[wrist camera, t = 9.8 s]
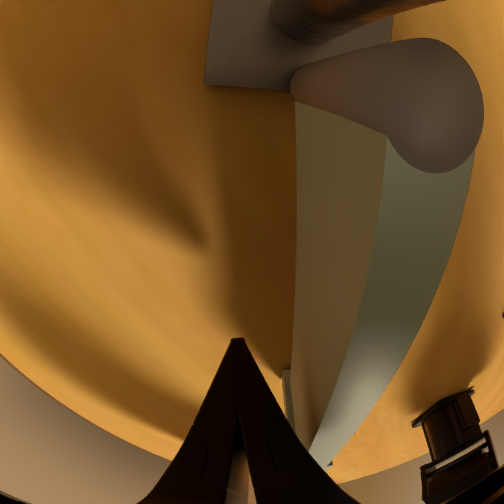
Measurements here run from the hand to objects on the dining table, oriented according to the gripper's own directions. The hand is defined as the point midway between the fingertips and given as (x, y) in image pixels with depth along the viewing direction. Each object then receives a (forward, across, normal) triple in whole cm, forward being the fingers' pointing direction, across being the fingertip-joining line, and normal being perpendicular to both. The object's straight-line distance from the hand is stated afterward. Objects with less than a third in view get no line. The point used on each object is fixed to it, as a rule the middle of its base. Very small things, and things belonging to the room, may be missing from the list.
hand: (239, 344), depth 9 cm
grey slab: (+2, -3, 0) cm, 4 cm away
